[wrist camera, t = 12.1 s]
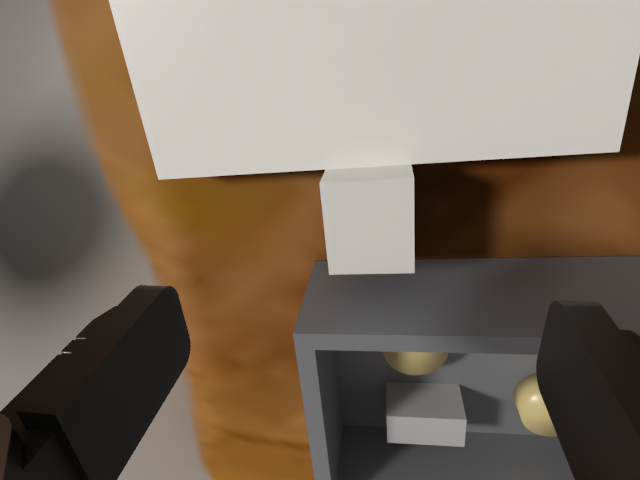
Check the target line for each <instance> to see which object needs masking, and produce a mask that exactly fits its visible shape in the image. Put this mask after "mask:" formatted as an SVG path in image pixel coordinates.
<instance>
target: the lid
mask: <svg viewBox="0 0 640 480" xmlns="http://www.w3.org/2000/svg"><path fill="white" fill-rule="evenodd" d="M109 3H110V7H111V10H112V14H113V18H114V21H115V25H116V28H117V32H118V36H119V39H120V43H121V46H122V50H123V54H124V57H125V61H126V64H127V68H128V72H129V75H130V79H131V82H132V86H133V90H134V93H135V97H136V100H137V104H138V108H139V111H140V115H141V118H142V122H143V126H144V129H145V133H146V136H147V140H148V144H149V147H150V151H151V154H152V158H153V162H154V165H155V169H156V172H157V176H158V180H160V179H177V178H193V177H210V176H227V175H243V174H260V173H277V172H293V171H310V170H325V172H324V174H323V176H322V178H321V181H320V183H319V184H320V194H321V203H322V213H323V222H324V232H325V241H326V250H327V260H328V269H329V275H339V274H399V273H415V229H414V174H413V169H412V165H411V164H426V163H443V162H459V161H476V160H493V159H509V158H526V157H543V156H559V155H576V154H592V153H609V152H619V151H620V146H621V142H622V137H623V132H624V127H625V122H626V118H627V113H628V108H629V103H630V99H631V94H632V89H633V84H634V80H635V75H636V70H637V65H638V61H639V56H640V0H109Z"/></svg>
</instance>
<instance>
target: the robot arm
mask: <svg viewBox="0 0 640 480" xmlns="http://www.w3.org/2000/svg"><path fill="white" fill-rule="evenodd" d="M189 354H190V337H189V333H188V330H187V326H186V322H185V318H184V315H183V311H182V307H181V304H180V300H179V296H178V293H177V291H176V290H175V288H173V287H171V286H145V285H144V286H143V285H140V286H137V287H136V288H135V289H133V290H132V291H131V292H130V293H129V295H127V297H126V298H125V299H124V300H123V301H122V302H121V303H120V304H119V305H118V306H115V307H113V308H112V309H110V310H108V311H107V312H105V313H104V314H102V315H100V316H99V317H97V318H96V319H94V320H92V321H91V322H90V323H89V324H88V325H87V326H86V327H85V328H84V329H83V330H82V331H81V332H80V333H79V334H78V336H76V340H72V341H71V342H70V343H69V345H67V346H66V347H65V348H64V349H63V350H62V354H61V355H57V356H56V357H55V358H54V359H53V360H52V361H51V362H50V363H49V364H48V365H47V366H46V367H45V368H44V369H43V370H42V371H41V372H40V373H39V374H38V375H37V376H36V377H35V378H34V379H33V380H32V381H31V382H30V383H29V384H28V385H27V386H26V387H25V388H24V389H23V390H22V391H21V392H20V393H19V394H18V395H17V396H16V397H15V398H14V399H13V400H12V401H11V402H10V403H9V404H8V405H7V406H6V407H5V408H4V409H3V410H2V411H1V412H0V480H117V479H118V477H119V475H120V474H121V472H122V470H123V468H124V467H125V465H126V464H127V462H128V460H129V459H130V457H131V455H132V454H133V452H134V450H135V449H136V447H137V446H138V444H139V442H140V441H141V439H142V437H143V436H144V434H145V432H146V431H147V429H148V427H149V426H150V424H151V422H152V421H153V419H154V417H155V416H156V414H157V412H158V411H159V409H160V407H161V406H162V404H163V402H164V401H165V399H166V397H167V396H168V394H169V393H170V391H171V389H172V387H173V386H174V384H175V383H176V381H177V379H178V378H179V376H180V374H181V373H182V371H183V369H184V368H185V366H186V364H187V362H188V358H189ZM536 375H537V382H538V387H539V391H540V393H541V396H542V398H543V401H544V403H545V406H546V409H547V411H548V414H549V416H550V419H551V421H552V424H553V426H554V429H555V431H556V434H557V436H558V439H559V441H560V444H561V446H562V449H563V451H564V454H565V456H566V459H567V462H568V464H569V467H570V469H571V472H572V474H573V477H574V479H575V480H640V336H639V335H637V334H636V333H635V332H633V331H632V330H620V329H619V328H618V326H617V325H616V324H615V322H614V321H613V320H612V318H611V317H610V316H609V314H608V313H607V311H606V310H605V309H604V307H603V306H602V305H601V304H599V303H597V302H577V301H553V302H552V303H551V304H550V306H549V309H548V313H547V317H546V322H545V326H544V331H543V335H542V339H541V344H540V348H539V352H538V357H537V363H536Z"/></svg>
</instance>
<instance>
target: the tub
mask: <svg viewBox="0 0 640 480" xmlns="http://www.w3.org/2000/svg"><path fill="white" fill-rule="evenodd" d="M553 301H577V302H597V303H599V304H601V305H602V306H603V307H604V309H605V310H606V311H607V313H608V314H609V316H610V317H611V318H612V320H613V321H614V322H615V324H616V325H617V326H618V328H619V329H620V330H632V331H633V332H635V333H636V334H637V335H639V336H640V256H613V257H545V258H476V259H415V273H399V274H339V275H329V269H328V261H315V263H314V267H313V270H312V273H311V276H310V280H309V283H308V286H307V289H306V293H305V296H304V299H303V302H302V306H301V309H300V312H299V316H298V319H297V322H296V325H295V329H294V332H293V338H294V344H295V351H296V358H297V365H298V371H299V378H300V385H301V391H302V398H303V405H304V411H305V418H306V425H307V432H308V438H309V445H310V452H311V458H312V465H313V472H314V478H315V480H575V479H574V477H573V474H572V472H571V469H570V467H569V464H568V462H567V459H566V456H565V454H564V451H563V449H562V446H561V444H560V441H559V439H558V436H557V434H556V431H555V429H554V426H553V424H552V421H551V419H550V416H549V414H548V411H547V409H546V406H545V403H544V401H543V398H542V396H541V393H540V391H539V387H538V382H537V375H536V363H537V357H538V352H539V348H540V344H541V339H542V335H543V331H544V326H545V322H546V317H547V313H548V309H549V306H550V304H551V303H552V302H553Z"/></svg>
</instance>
